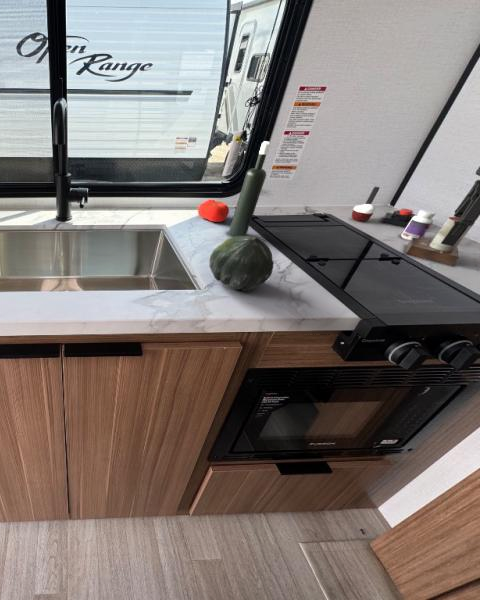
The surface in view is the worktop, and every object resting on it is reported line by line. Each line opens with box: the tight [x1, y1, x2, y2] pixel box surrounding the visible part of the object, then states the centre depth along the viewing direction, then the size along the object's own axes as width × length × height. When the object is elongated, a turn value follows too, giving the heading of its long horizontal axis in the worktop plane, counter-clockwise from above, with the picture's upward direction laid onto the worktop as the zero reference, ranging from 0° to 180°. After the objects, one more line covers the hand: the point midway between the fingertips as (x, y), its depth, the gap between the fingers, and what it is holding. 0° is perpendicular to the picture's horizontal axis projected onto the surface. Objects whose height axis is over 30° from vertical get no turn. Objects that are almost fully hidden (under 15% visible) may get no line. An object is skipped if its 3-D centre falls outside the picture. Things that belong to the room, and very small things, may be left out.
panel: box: [405, 237, 464, 267], centre depth 102 cm, size 12×10×3 cm
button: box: [399, 208, 414, 216], centre depth 123 cm, size 4×4×2 cm
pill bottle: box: [401, 209, 437, 241], centre depth 111 cm, size 5×5×10 cm
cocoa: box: [351, 186, 380, 223], centre depth 124 cm, size 10×6×12 cm, turn 112°
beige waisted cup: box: [430, 216, 475, 252], centre depth 98 cm, size 6×6×9 cm
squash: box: [208, 235, 274, 292], centre depth 84 cm, size 14×15×15 cm
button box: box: [381, 210, 417, 229], centre depth 124 cm, size 10×8×4 cm
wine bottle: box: [227, 140, 271, 237], centre depth 105 cm, size 6×6×30 cm
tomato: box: [197, 199, 230, 223], centre depth 124 cm, size 10×11×6 cm
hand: (446, 241), depth 100 cm, fingers closed on beige waisted cup, 6 cm apart
